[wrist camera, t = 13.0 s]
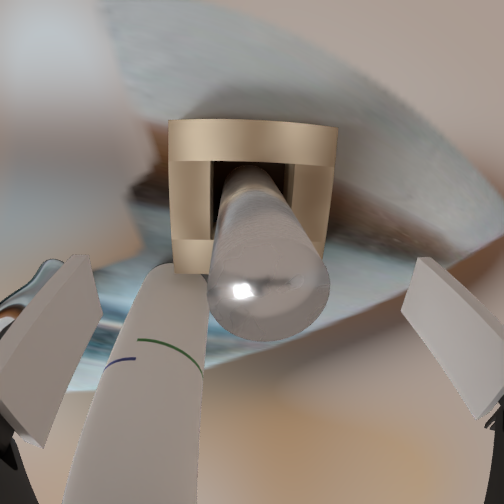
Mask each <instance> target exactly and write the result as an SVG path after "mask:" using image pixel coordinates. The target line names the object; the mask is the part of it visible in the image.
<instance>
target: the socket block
mask: <svg viewBox="0 0 504 504" xmlns="http://www.w3.org/2000/svg"><path fill="white" fill-rule="evenodd" d="M337 137H338V128H337V127H329V126H321V125H313V124H304V123H293V122H281V121H266V120H245V119H183V120H168V167H169V200H170V221H171V237H172V251H173V263H174V274H209V269H210V263H211V256H212V250H213V243H214V237H215V231H216V225H217V222H213V190H214V161H248V162H272V163H285V174H284V187H283V197H284V199H285V200H286V202H287V203H288V205H289V207H290V208H291V210H292V211H293V213H294V215H295V216H296V218H297V219H298V221H299V223H300V224H301V226H302V228H303V229H304V231H305V232H306V234H307V236H308V237H309V239H310V241H311V242H312V244H313V246H314V247H315V249H316V251H317V252H318V254H319V256H320V258H321V259H322V258H323V252H324V245H325V239H326V232H327V225H328V218H329V211H330V203H331V195H332V187H333V178H334V169H335V159H336V148H337Z"/></svg>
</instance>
